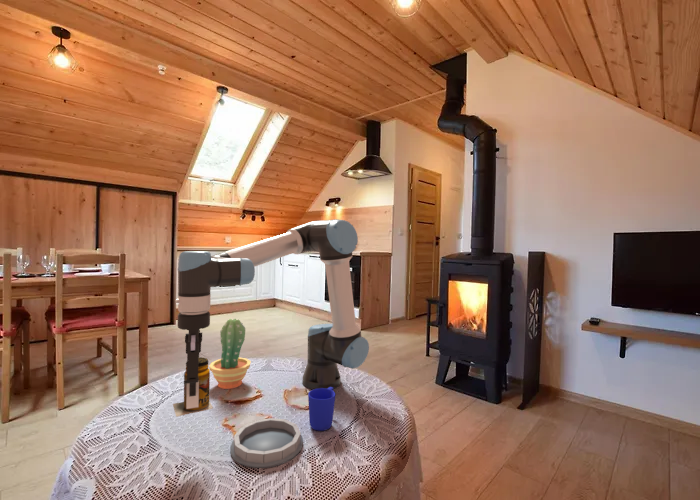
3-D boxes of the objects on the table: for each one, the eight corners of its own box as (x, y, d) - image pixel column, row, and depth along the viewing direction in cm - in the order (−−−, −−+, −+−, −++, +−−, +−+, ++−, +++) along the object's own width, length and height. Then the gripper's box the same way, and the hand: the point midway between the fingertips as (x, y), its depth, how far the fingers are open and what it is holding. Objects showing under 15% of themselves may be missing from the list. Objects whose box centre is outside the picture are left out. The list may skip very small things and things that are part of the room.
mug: (342, 416, 110) (343, 385, 110) (328, 436, 99) (329, 401, 99) (319, 412, 113) (320, 381, 113) (302, 430, 102) (303, 396, 101)
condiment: (213, 408, 87) (214, 362, 87) (176, 417, 83) (176, 368, 82) (207, 397, 93) (208, 353, 93) (172, 405, 89) (173, 359, 88)
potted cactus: (259, 382, 136) (260, 319, 135) (226, 396, 123) (227, 326, 122) (233, 373, 144) (234, 314, 144) (199, 385, 131) (201, 320, 131)
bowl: (293, 422, 106) (293, 412, 106) (310, 458, 88) (311, 446, 88) (228, 433, 99) (228, 423, 99) (233, 475, 81) (233, 462, 81)
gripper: (180, 305, 95) (179, 388, 95) (174, 320, 77) (173, 422, 78) (209, 304, 98) (208, 384, 98) (210, 318, 80) (208, 416, 81)
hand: (193, 401), depth 88 cm, fingers closed on condiment, 6 cm apart
